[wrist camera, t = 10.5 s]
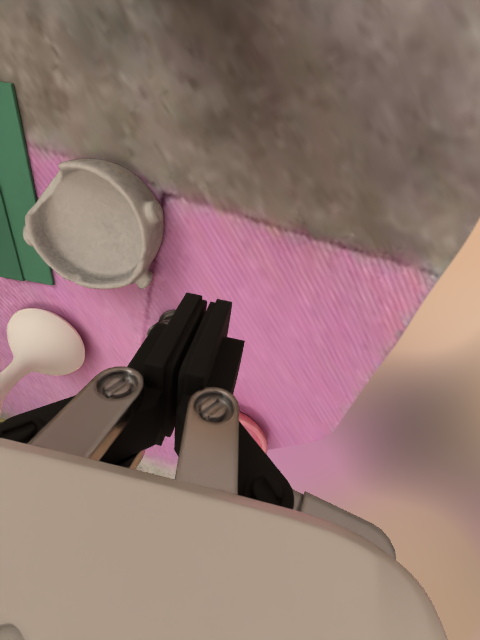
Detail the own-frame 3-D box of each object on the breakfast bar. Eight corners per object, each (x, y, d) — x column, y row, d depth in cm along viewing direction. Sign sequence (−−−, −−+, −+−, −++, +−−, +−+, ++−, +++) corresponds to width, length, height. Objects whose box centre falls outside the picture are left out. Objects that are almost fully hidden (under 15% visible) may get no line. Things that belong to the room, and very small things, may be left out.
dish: (42, 239, 42) (12, 253, 37) (65, 125, 34) (31, 128, 30) (148, 297, 44) (131, 317, 39) (191, 202, 36) (176, 215, 32)
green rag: (-62, 72, 34) (-68, 72, 33) (13, 83, 33) (8, 83, 32) (-1, 273, 46) (-5, 275, 45) (54, 284, 45) (51, 286, 44)
